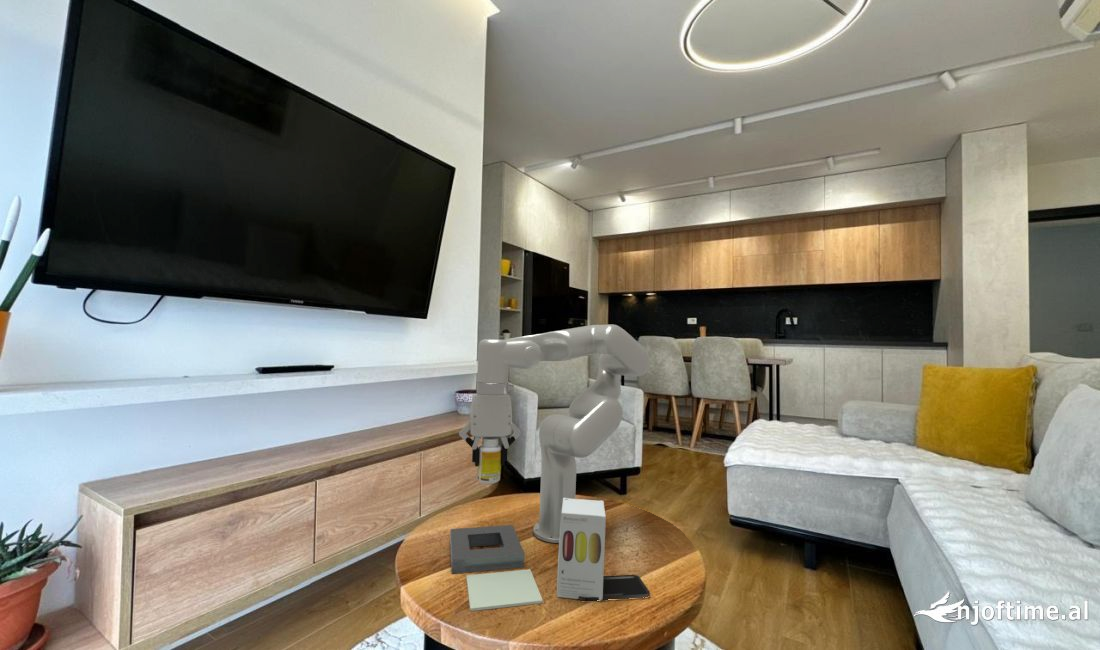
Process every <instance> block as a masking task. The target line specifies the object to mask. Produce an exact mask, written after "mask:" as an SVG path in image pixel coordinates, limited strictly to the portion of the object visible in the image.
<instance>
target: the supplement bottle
mask: <svg viewBox="0 0 1100 650" xmlns="http://www.w3.org/2000/svg"><path fill="white" fill-rule="evenodd" d="M499 438H500V437H481V439H482V441H481V445H479V446H478V448H479V466H478V467H477V481H478V482H479V483H481V484H485V485H486V484H488V485H489V484H491V485H492V484H495V483H498V482H499V481H501V473H502V471H501V470H502V465H501V446H502V445H499V441H500V440H499Z"/></svg>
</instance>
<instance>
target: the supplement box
mask: <svg viewBox="0 0 1100 650" xmlns="http://www.w3.org/2000/svg"><path fill="white" fill-rule="evenodd" d="M606 520H607V516H606V511H605V501H604V500H602V499H601V500H595V499H593V500H592V499H583V498H575V499H570V498H563V505H562V512H561V523H560V536H559V543H558V556H557V558H558V559H557V575H556V577H557V578H556V579H557V580H556V597H557V598H562V599H563V598H565V599H574V600H578V599H579V596H581V597H599V600H602V599H603V576H605V575H604V573H605V572H604V571H605V548H606V545H605V544H606V525H607V524H606V523H607V521H606Z"/></svg>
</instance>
